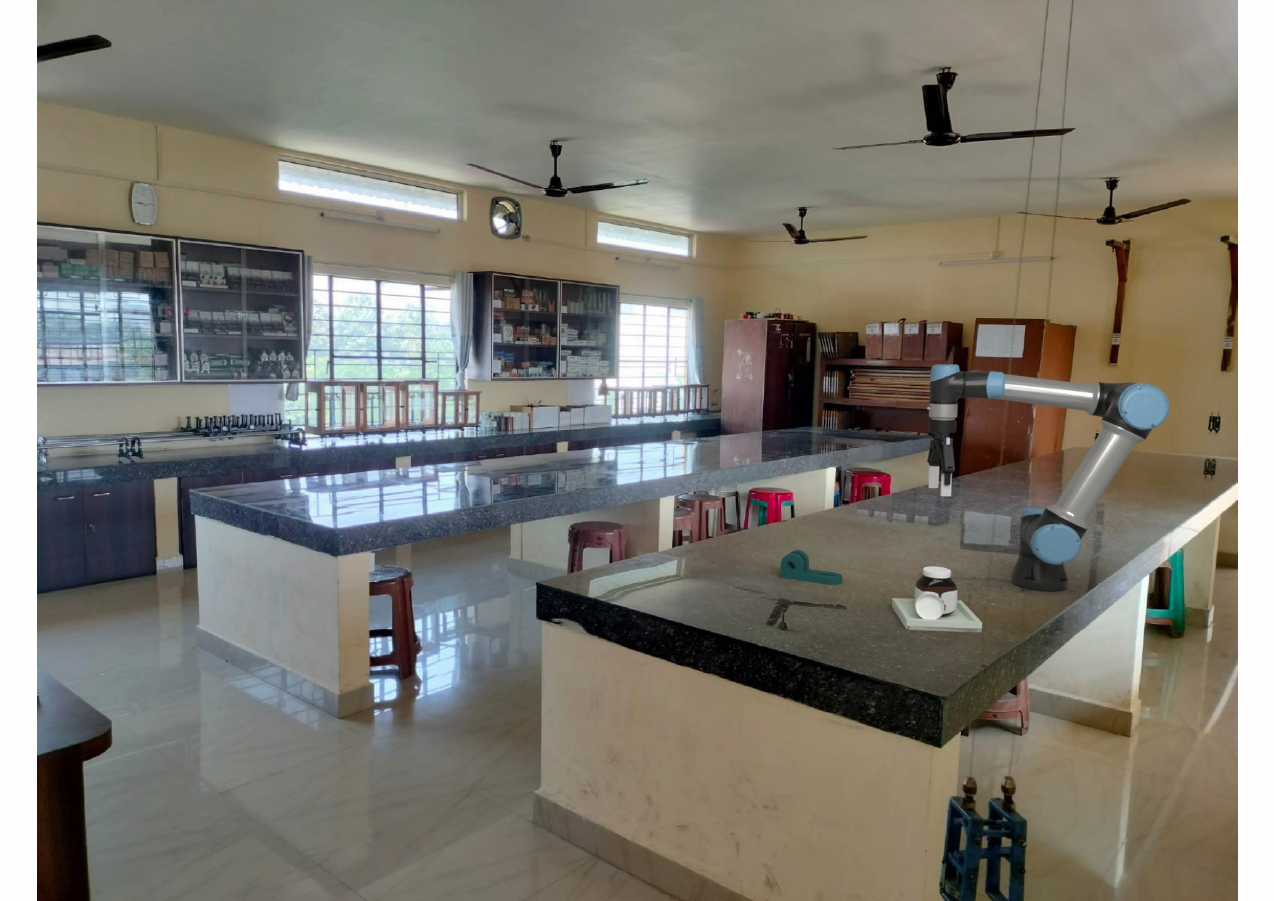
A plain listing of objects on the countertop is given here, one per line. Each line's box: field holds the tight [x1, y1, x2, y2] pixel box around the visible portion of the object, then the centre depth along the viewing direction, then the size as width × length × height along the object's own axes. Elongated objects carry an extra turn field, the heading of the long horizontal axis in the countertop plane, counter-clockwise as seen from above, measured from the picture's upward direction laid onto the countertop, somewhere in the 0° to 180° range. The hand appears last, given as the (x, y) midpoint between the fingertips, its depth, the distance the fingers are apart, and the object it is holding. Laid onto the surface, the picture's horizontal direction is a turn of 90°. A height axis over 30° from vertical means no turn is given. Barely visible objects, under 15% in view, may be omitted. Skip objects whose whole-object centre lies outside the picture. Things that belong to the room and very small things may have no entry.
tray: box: [891, 597, 983, 633], centre depth 205 cm, size 18×18×2 cm
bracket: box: [780, 549, 843, 586], centre depth 242 cm, size 18×7×8 cm, turn 60°
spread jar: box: [914, 565, 958, 619], centre depth 205 cm, size 12×11×12 cm
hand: (939, 492), depth 229 cm, fingers open, 13 cm apart
